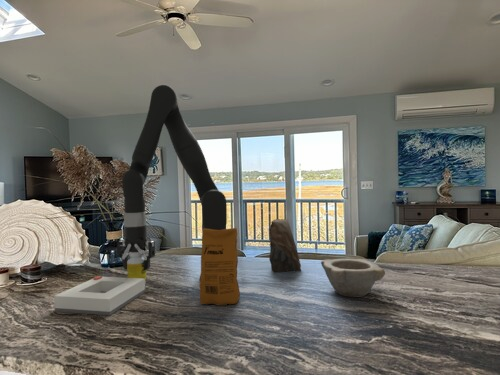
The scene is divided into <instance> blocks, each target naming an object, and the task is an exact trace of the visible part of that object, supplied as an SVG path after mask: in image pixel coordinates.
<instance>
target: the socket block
mask: <svg viewBox="0 0 500 375" xmlns="http://www.w3.org/2000/svg"><path fill="white" fill-rule="evenodd" d="M144 293H146V282H145V279H144V278H128V277H118V276H117V277H115V276H102V275H97V276H95V277H93V278H91V279H89V280H87V281H84V282H83V283H80V284H78V285H76V286H74V287H71V288H69V289H66V290H64V291H62V292H60V293H57V294H55V295H54V296H53V298H54V299H53V300H54V301H53V303H54V304H53V305H54V306H53V307H54V313H55V312H58V313H72V314H86V315H99V316H101V315H102V316H111V315H113V314H114V313H115V312H117V311H119V310H120V309H122V308H123V307H125V306H126V305H128V304H129V303H131V302H133V301H134V300H136V299H137V298H139V297H140V296H142V295H143V294H144Z"/></svg>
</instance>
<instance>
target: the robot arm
mask: <svg viewBox="0 0 500 375" xmlns="http://www.w3.org/2000/svg"><path fill="white" fill-rule="evenodd" d="M177 97H178V96H177V94H176V92H175V90H174V88H172V87H171V86H169V85H167V84H160V85H157V86H155V87H154V89H153V90H152V91H151V95H150V102H149V107H148V111H147V115H146V118H145V122H144V124H143V127H142V130H141V133H140V135H139V138H138V139H137V142H136V144H135V147H134V150H133V152H132V155H131V164H130V167H129V169H128V170H127V171H125V172H124V174H123V176H122V178H121V179H122V180H121V183H122V192H123V197H124V202H123V203H124V204H123V205H124V216H123V218H124V219H123V225H124V226H123V228H124V239H125V240H123V239H122V240H118V241H117V242H116V248H117V250H116V251H117V258H121V260H122V264H123V265H122V267H123V268H124V270H127V261H128V259H130V255H129V253H130V252H139V253H140V255H142V256H143V258H144V270H146V271H148V270H149V269H150V267H151V259H153V258H155V256H156V248H155V247H156V243H155V242H156V241H155V240H150V241H149V240H147V216H146V215H147V214H146V203H145V202H146V200H145V197H144V185H145V183H146V180H147V177H148V173H149V170H150V166H151V163H152V162H153V159H154V156H155V154H156V152H157V148H158V145H159V143H160V142H159V141H160V137H161V134H162V130H163V127H164V126H165V128H166V131H167V132H168V136H169V138H170V141H171V143H172V146H173V149H174V152H175V153H176V156H177V158H178V160H179V162H180V164H181V165H182V167H183V169H184V171H185V172H186V174H187V176H188V177H189V178H190V180H191V182H192V183H193V186H194V187H195V190H196V192H197V196H198V198H199V202H200V206H201V214H202V215H201V216H202V217H201V218H202V220H201V233H202V235H203V229H204V228H205V229H212V230H224V229H227V224H228V217H227V215H228V214H227V212H228V211H227V210H228V209H227V206H228V205H227V204H228V203H227V199H226V196H225V194H224V193H223V192H222V191H221V190H219V188H218V187H217V186H216V184H215V182H214V181H213V178H212V176H211V174H210V170H209V166H208V163H207V161H206V158H205V155H204V152H203V149H202V148H201V146H200V144H199V142H198V140H197V138H196V137H195V135H194V133H193V132H192V130H191V129H190V128H189V126H188V125H187V124H186V122H185V120H184V118H183V115H182V113H181V111H180V108H179V107H180V106H179V104H178V98H177ZM202 235H201V236H202ZM125 247H126V248H125Z"/></svg>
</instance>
